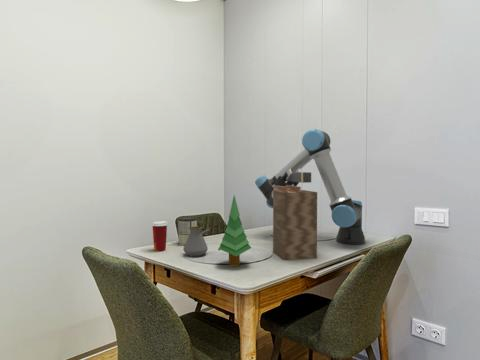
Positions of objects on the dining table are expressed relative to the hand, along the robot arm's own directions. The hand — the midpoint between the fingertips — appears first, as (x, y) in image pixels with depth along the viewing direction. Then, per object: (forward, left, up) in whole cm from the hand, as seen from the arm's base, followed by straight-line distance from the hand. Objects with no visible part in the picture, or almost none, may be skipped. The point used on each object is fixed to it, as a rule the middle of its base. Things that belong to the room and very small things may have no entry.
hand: (295, 171), depth 166 cm
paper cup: (+65, -18, -40) cm, 78 cm away
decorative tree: (+35, +16, -40) cm, 55 cm away
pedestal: (+4, +8, -39) cm, 40 cm away
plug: (0, +3, -5) cm, 6 cm away
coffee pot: (+44, -6, -40) cm, 59 cm away
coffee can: (+50, -29, -40) cm, 70 cm away
